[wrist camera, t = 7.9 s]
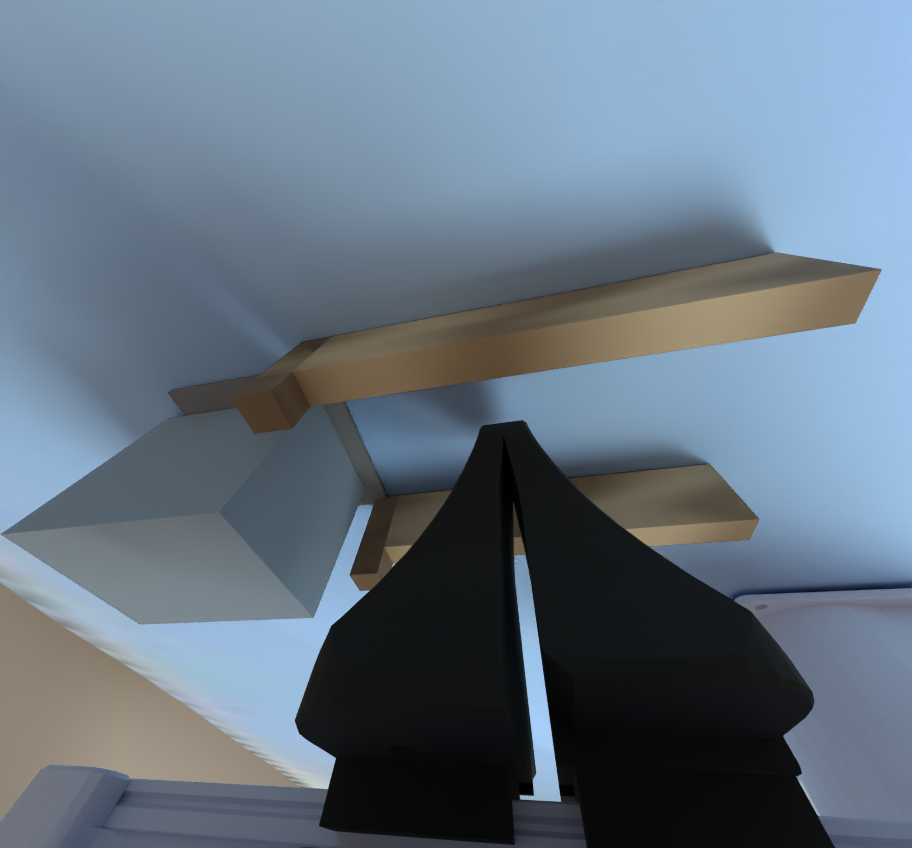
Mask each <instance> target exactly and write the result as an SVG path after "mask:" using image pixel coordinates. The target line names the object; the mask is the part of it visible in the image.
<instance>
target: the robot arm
mask: <svg viewBox="0 0 912 848" xmlns="http://www.w3.org/2000/svg"><path fill="white" fill-rule="evenodd" d="M513 502H514V507H515V511H516V515H517V520H518V524H519V529H520V533H521V537H522V542H523V546H524V551H525V555H526V559H527V564H528V569H529V574H530V579H531V586H532V593H533V600H534V608H535V615H536V622H537V629H538V637H539V644H540V651H541V658H542V666H543V673H544V680H545V687H546V695H547V702H548V709H549V716H550V724H551V731H552V738H553V745H554V753H555V760H556V767H557V775H558V782H559V789H560V796H561V802H554V801H535V800H520V795H528V796H534V791H533V778H534V776H535V774H536V767H535V759H534V750H533V741H532V732H531V723H530V715H529V706H528V697H527V688H526V679H525V670H524V661H523V651H522V642H521V633H520V624H519V614H518V605H517V595H516V586H515V571H514V519H513ZM295 723H296V726H297V729H298V731H299V734H300V735H302V736H303V737H304V738H305V739H306V740H308V741H310V742H311V743H313V744H314V745H316V746H318V747H319V748H321V749H323V750H324V751H326V752H327V753H329V754H331V755H332V756H334V757H335V758H336V761H335V765H334V768H333V772H332V776H331V780H330V784H329V788H328V789H314V788H296V787H295V788H293V787H276V786H259V785H240V784H222V783H204V782H185V781H167V780H166V781H165V780H148V779H130V778H129V776H128V775H125V774H122V773H119V772H116V771H111V770H107V769H102V768H96V767H85V766H84V767H83V766H64V765H48V766H46V767H44V768H43V769H41V770H40V772H39V773H38V774H37V775H36V777H35V778H34V779H33V781H32V782H31V783H30V784H29V785H28V787H27V788H26V789H25V791H24V792H23V793H22V795H21V796H20V797H19V798H18V800H17V801H16V802H15V803H14V805H13V806H12V807H11V809H10V810H9V811H8V813H7V814H6V815H5V816H4V818H3V819H2V820H1V822H0V848H912V588H900V589H876V590H851V591H827V592H803V593H779V594H755V595H743V596H739V597H737V598H736V599H735V600H734V601H733V600H731V599H730V598H728V597H726V596H725V595H723V594H721V593H720V592H718V591H716V590H715V589H713V588H711V587H710V586H708V585H706V584H705V583H703V582H701V581H700V580H698V579H696V578H695V577H693V576H691V575H690V574H688V573H687V572H685V571H684V570H682V569H681V568H679V567H678V566H676V565H675V564H673V563H672V562H670V561H669V560H667V559H666V558H664V557H663V556H661V555H660V554H658V553H657V552H655V551H654V550H653V549H651V548H650V547H649V546H647V545H646V544H645V543H643V542H642V541H641V540H639V539H638V538H637V537H635V536H634V535H632V534H631V533H630V532H628V531H627V530H626V529H624V528H623V527H622V526H620V525H619V524H618V523H616V522H615V521H614V520H613V519H612V518H610V517H609V516H608V515H607V514H606V513H604V512H603V511H602V510H601V509H600V508H598V507H597V506H596V505H595V504H594V503H593V502H592V501H591V500H590V499H588V498H587V497H586V496H585V495H584V494H583V493H582V492H581V491H580V490H579V489H578V488H577V487H576V486H575V485H574V484H573V483H572V482H571V481H570V480H569V479H568V478H567V477H566V476H565V475H564V474H563V473H562V471H561V470H560V469H559V468H558V467H557V466H556V465H555V464H554V462H553V461H552V460H551V459H550V457H549V456H548V455H547V454H546V453H545V451H544V450H543V449H542V447H541V446H540V445H539V443H538V442H537V440H536V439H535V437H534V436H533V434H532V433H531V431H530V429H529V428H528V426H527V423H526V422H524V421H523V420H521V421H513V422H505V423H498V424H490V425H483V426H482V427H481V428H480V430H479V434H478V437H477V440H476V443H475V445H474V448H473V450H472V452H471V455H470V457H469V459H468V461H467V463H466V465H465V467H464V469H463V471H462V473H461V475H460V477H459V479H458V480H457V482H456V484H455V486H454V487H453V489H452V491H451V493H450V494H449V496H448V498H447V499H446V501H445V502H444V504H443V505H442V507H441V508H440V510H439V511H438V513H437V514H436V516H435V517H434V518H433V520H432V521H431V522H430V524H429V525H428V526H427V528H426V529H425V530H424V531H423V533H422V534H421V535H420V537H419V538H418V539H417V540H416V542H415V543H414V544H413V545H412V546H411V548H410V549H409V550H408V551H407V552H406V553H405V554H404V556H403V557H402V558H401V559H400V560H399V561H398V562H397V563H396V564H395V565H394V566H393V567H392V568H391V570H390V571H389V572H388V573H387V574H386V575H385V576H384V577H383V578H382V579H381V580H380V581H379V582H378V583H377V584H376V585H375V586H374V587H373V588H372V589H371V590H370V591H369V592H368V593H367V594H366V595H365V596H364V597H363V598H362V599H360V600H359V601H358V602H357V603H356V604H355V605H354V606H353V607H352V608H351V609H350V610H349V611H348V612H347V613H345V614H344V615H343V616H342V617H341V618H340V619H339V620H338V621H337V622H335V623H334V624H333V625H332V626H331V628H330V630H329V633H328V635H327V637H326V639H325V641H324V643H323V646H322V648H321V650H320V652H319V655H318V657H317V660H316V662H315V665H314V668H313V671H312V673H311V676H310V679H309V682H308V685H307V688H306V690H305V693H304V696H303V699H302V702H301V704H300V707H299V710H298V713H297V716H296V718H295ZM796 776H798V777H799V778H800V780H801V782H802V784H803V785H804V787H805V789H806V791H807V793H808V794H809V796H810V798H811V800H812V802H813V803H814V805H815V807H816V809H817V810H818V812H819V814H820V816H817V814H816V812H815V810H814V809H813V807H812V805H811V803H810V801H809V800H808V798H807V796H806V794H805V792H804V791H803V789H802V787H801V785H800V783H799V782H798V780H797V778H796Z"/></svg>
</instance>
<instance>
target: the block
mask: <svg viewBox="0 0 912 848" xmlns="http://www.w3.org/2000/svg"><path fill="white" fill-rule="evenodd" d="M364 490H365V488H364V486H363V484H362V482H361V480H360V478H359V476H358V474H357V472H356V470H355V468H354V466H353V464H352V462H351V460H350V458H349V456H348V454H347V452H346V450H345V448H344V446H343V444H342V442H341V440H340V438H339V436H338V434H337V432H336V430H335V428H334V426H333V424H332V422H331V420H330V418H329V416H328V414H327V412H326V410H325V408H324V406H323V405H317V406H311V407H310V408H309V409H308V410H307V412H306V413H305V414H304V415H303V417H302V418H301V419H300V420H299V421H298V423H297V424H296V425H295V426H294V427H293V429H287V430H280V431H273V432H266V433H259V434H254V433H253V431H252V430H251V428H250V427H249V425H248V424H247V422H246V421H245V419H244V418H243V416H242V415H241V413H240V412H239V410H238V409H237V408H232V409H225V410H219V411H213V412H206V413H200V414H194V415H188V416H181V417H175V418H169V419H167V420H166V421H164V422H163V423H161V424H160V425H158V426H157V427H155V428H154V429H153V430H151V431H150V432H148V433H147V434H145V435H144V436H142V437H141V438H140V439H138V440H137V441H135V442H134V443H132V444H131V445H129V446H128V447H126V448H125V449H124V450H122V451H121V452H119V453H118V454H116V455H115V456H113V457H112V458H111V459H109V460H108V461H106V462H105V463H103V464H102V465H100V466H99V467H97V468H96V469H95V470H93V471H92V472H90V473H89V474H87V475H86V476H84V477H83V478H82V479H80V480H79V481H77V482H76V483H74V484H73V485H71V486H70V487H68V488H67V489H66V490H64V491H63V492H61V493H60V494H58V495H57V496H55V497H54V498H53V499H51V500H50V501H48V502H47V503H45V504H44V505H42V506H41V507H39V508H38V509H37V510H35V511H34V512H32V513H31V514H29V515H28V516H26V517H25V518H24V519H22V520H21V521H19V522H18V523H16V524H15V525H13V526H12V527H10V528H9V529H8V530H6V531H5V532H3V533H2V534H1V535H2V536H4V537H5V538H7V539H8V540H10V541H12V542H13V543H15V544H16V545H18V546H19V547H21V548H22V549H24V550H25V551H27V552H29V553H30V554H32V555H33V556H35V557H36V558H38V559H39V560H41V561H42V562H44V563H46V564H47V565H49V566H50V567H52V568H53V569H55V570H56V571H58V572H59V573H61V574H63V575H64V576H66V577H67V578H69V579H70V580H72V581H73V582H75V583H76V584H78V585H80V586H81V587H83V588H84V589H86V590H87V591H89V592H90V593H92V594H93V595H95V596H97V597H98V598H100V599H101V600H103V601H104V602H106V603H107V604H109V605H110V606H112V607H114V608H115V609H117V610H118V611H120V612H121V613H123V614H124V615H126V616H127V617H129V618H130V619H132V620H134V621H135V622H137V623H138V624H164V623H189V622H215V621H240V620H266V619H292V618H314V615H315V613H316V610H317V608H318V605H319V603H320V600H321V598H322V595H323V593H324V590H325V588H326V585H327V583H328V580H329V578H330V575H331V573H332V570H333V568H334V565H335V563H336V560H337V558H338V555H339V553H340V550H341V548H342V545H343V543H344V540H345V538H346V535H347V533H348V530H349V527H350V525H351V522H352V520H353V517H354V515H355V512H356V510H357V507H358V505H359V502H360V500H361V497H362V495H363V492H364Z"/></svg>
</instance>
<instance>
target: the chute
mask: <svg viewBox="0 0 912 848" xmlns="http://www.w3.org/2000/svg"><path fill="white" fill-rule="evenodd" d="M881 270H882V269H877V268H870V267H864V266H858V265H852V264H845V263H839V262H833V261H827V260H820V259H814V258H808V257H801V256H795V255H789V254H783V253H772V254H767V255H761V256H756V257H751V258H745V259H740V260H735V261H730V262H724V263H719V264H714V265H708V266H703V267H698V268H692V269H687V270H682V271H676V272H671V273H666V274H661V275H655V276H650V277H645V278H639V279H634V280H629V281H623V282H618V283H613V284H608V285H602V286H597V287H592V288H586V289H581V290H576V291H570V292H565V293H560V294H554V295H549V296H544V297H539V298H533V299H528V300H523V301H517V302H512V303H507V304H501V305H496V306H491V307H486V308H480V309H475V310H470V311H464V312H459V313H454V314H448V315H443V316H438V317H432V318H427V319H422V320H417V321H411V322H406V323H401V324H395V325H390V326H385V327H379V328H374V329H369V330H364V331H358V332H353V333H348V334H342V335H337V336H332V337H326V338H321V339H316V340H310V341H305V342H301V343H300V344H299V345H298V346H296V347H295V348H294V349H292V350H291V351H290V352H289V353H287V354H286V355H285V356H283V357H282V358H281V359H280V360H278V361H277V362H276V363H274V364H273V365H272V366H271V367H269V368H268V369H267V370H266V371H264V372H263V373H262V374H260V375H259V376H258V377H257V378H255V379H254V380H253V381H251V382H250V383H249V384H248V385H246V386H245V387H244V388H242V389H241V390H240V391H239V392H237V393H236V394H235V395H233V396H232V397H231V400H232V401H233V403H234V404H235V406H236V407H237V409H238V410H239V412H240V413H241V415H242V416H243V418H244V419H245V421H246V422H247V424H248V425H249V427H250V428H251V430H252V431H253V433H254V434H259V433H266V432H273V431H280V430H287V429H293V427H294V426H295V425H296V424H297V423H298V421H299V420H300V419H301V418H302V417H303V415H304V414H305V413H306V412H307V410H308V409H309V408H310V407H311V406H317V405H324V404H331V403H337V402H344V401H350V400H357V399H363V398H370V397H376V396H383V395H389V394H396V393H402V392H409V391H416V390H422V389H429V388H435V387H442V386H448V385H455V384H461V383H468V382H474V381H481V380H488V379H494V378H501V377H507V376H514V375H520V374H527V373H533V372H540V371H546V370H553V369H559V368H566V367H573V366H579V365H586V364H592V363H599V362H605V361H612V360H618V359H625V358H631V357H638V356H644V355H651V354H658V353H664V352H671V351H677V350H684V349H690V348H697V347H703V346H710V345H716V344H723V343H730V342H736V341H743V340H749V339H756V338H762V337H769V336H775V335H782V334H788V333H795V332H801V331H808V330H815V329H821V328H828V327H834V326H841V325H847V324H854V323H856V321H857V319H858V317H859V315H860V313H861V311H862V309H863V307H864V305H865V303H866V301H867V299H868V297H869V295H870V293H871V290H872V288H873V286H874V284H875V282H876V280H877V278H878V276H879V274H880V272H881ZM568 479H569V480H570V481H571V482H572V483H573V484H574V485H575V486H576V487H577V488H578V489H579V490H580V491H581V492H582V493H583V494H584V495H585V496H586V497H587V498H588V499H590V500H591V501H592V502H593V503H594V504H595V505H596V506H597V507H598V508H600V509H601V510H602V511H603V512H604V513H606V514H607V515H608V516H609V517H610V518H612V519H613V520H614V521H615V522H616V523H618V524H619V525H620V526H622V527H623V528H624V529H626V530H627V531H628V532H630V533H631V534H632V535H634V536H635V537H637V538H638V539H639V540H641V541H642V542H643V543H645V544H646V545H647V546H662V545H677V544H693V543H708V542H723V541H738V540H750V538H751V535H752V533H753V531H754V529H755V527H756V525H757V523H758V521H759V518H758V517H757V516H756V515H755V514H754V513H753V512H752V510H751V509H750V508H749V507H748V506H747V505H746V504H745V503H744V501H743V500H742V499H741V498H740V497H739V496H738V495H737V494H736V493H735V491H734V490H733V489H732V488H731V487H730V486H729V485H728V484H727V482H726V481H725V480H724V479H723V478H722V477H721V476H720V475H719V474H718V472H717V471H716V470H715V469H714V468H713V467H712V466H711V465H710V464H706V465H696V466H686V467H676V468H666V469H656V470H646V471H636V472H626V473H616V474H606V475H596V476H586V477H576V478H568ZM451 491H452V490H447V491H437V492H427V493H417V494H407V495H397V496H387V499H383V500H375V503H374V506H373V509H372V512H371V515H370V518H369V520H368V523H367V526H366V529H365V532H364V535H363V538H362V541H361V543H360V546H359V549H358V552H357V555H356V558H355V561H354V564H353V567H352V569H351V572H350V577H351V578H352V579H353V581H354V582H355V584H356V585H357V587H358V588H359V590H360V591H364V590H371V589H372V588H373V587H374V586H375V585H376V584H377V583H378V582H379V581H380V580H381V579H382V578H383V577H384V576H385V575H386V574H387V573H388V572H389V571H390V570H391V568H392V564H393V563H397V562H398V561H399V560H400V559H401V558H402V557H403V556H404V554H405V553H406V552H407V551H408V550H409V549H410V548H411V546H412V545H413V544H414V543H415V542H416V540H417V539H418V538H419V537H420V535H421V534H422V533H423V531H424V530H425V529H426V528H427V526H428V525H429V524H430V522H431V521H432V520H433V518H434V517H435V516H436V514H437V513H438V511H439V510H440V508H441V507H442V505H443V504H444V502H445V501H446V499H447V498H448V496H449V494H450V493H451ZM513 519H514V555H525V551H524V546H523V542H522V537H521V533H520V529H519V524H518V520H517V515H516V511H515V507H514V502H513Z"/></svg>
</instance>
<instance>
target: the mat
mask: <svg viewBox="0 0 912 848" xmlns="http://www.w3.org/2000/svg"><path fill="white" fill-rule="evenodd" d="M258 376H259V375H257V376H251V377H245V378H240V379H234V380H228V381H222V382H217V383H211V384H205V385H200V386H194V387H188V388H182V389H177V390H171V391H169V392H168V394H169V395H170V396H171V398H172V399H173V400H174V401H175V403H176V404H177V405H178V406H179V408H180V409H181V410H182V411H183V413H184V414H185V415H186V416H188V415H194V414H200V413H206V412H213V411H219V410H225V409H232V408H237V407H236V406H235V404H234V403H233V401H232V400H231V397H232V396H233V395H235V394H236V393H237V392H239V391H240V390H241V389H242V388H244V387H245V386H246V385H248V384H249V383H250V382H251V381H253V380H254V379H255V378H257V377H258ZM323 406H324V408H325V410H326V412H327V414H328V416H329V418H330V420H331V422H332V424H333V426H334V428H335V430H336V432H337V434H338V436H339V438H340V440H341V442H342V444H343V446H344V448H345V450H346V452H347V454H348V456H349V458H350V460H351V462H352V464H353V466H354V468H355V470H356V472H357V474H358V476H359V478H360V480H361V482H362V484H363V486H364V488H365V490H364V492H363V495H362V497H361V500H360V502H359V505H366V504H374V503H375V500H383V499H387V494H386V492H385V490H384V488H383V485H382V483H381V481H380V479H379V477H378V474H377V472H376V470H375V468H374V465H373V463H372V461H371V459H370V457H369V454H368V452H367V450H366V448H365V446H364V443H363V441H362V439H361V437H360V434H359V432H358V430H357V428H356V426H355V423H354V421H353V419H352V417H351V414H350V412H349V410H348V408H347V406H346V403H345V401H344V402H337V403H331V404H324V405H323Z"/></svg>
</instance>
